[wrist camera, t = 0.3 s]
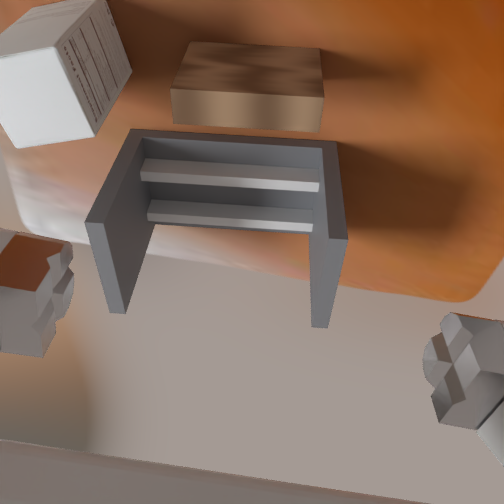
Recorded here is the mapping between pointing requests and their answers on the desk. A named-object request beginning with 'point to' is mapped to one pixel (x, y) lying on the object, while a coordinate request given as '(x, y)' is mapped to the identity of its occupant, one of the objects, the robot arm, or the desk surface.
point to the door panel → (249, 87)
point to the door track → (219, 202)
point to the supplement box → (60, 72)
